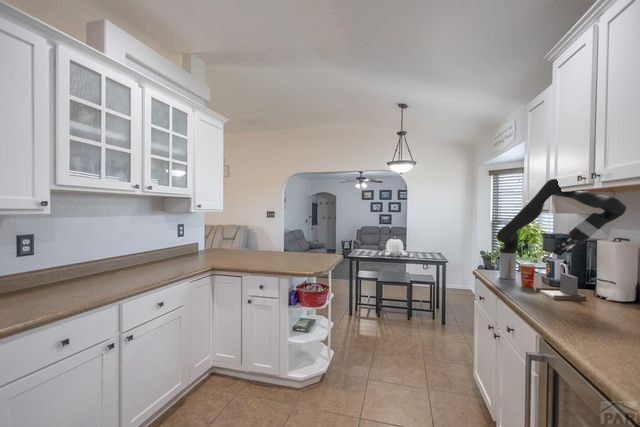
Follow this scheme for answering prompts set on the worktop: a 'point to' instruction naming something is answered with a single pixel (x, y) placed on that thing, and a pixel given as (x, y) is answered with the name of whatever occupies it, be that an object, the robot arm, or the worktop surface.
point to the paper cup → (527, 274)
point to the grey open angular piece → (564, 286)
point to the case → (563, 297)
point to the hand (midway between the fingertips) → (556, 254)
